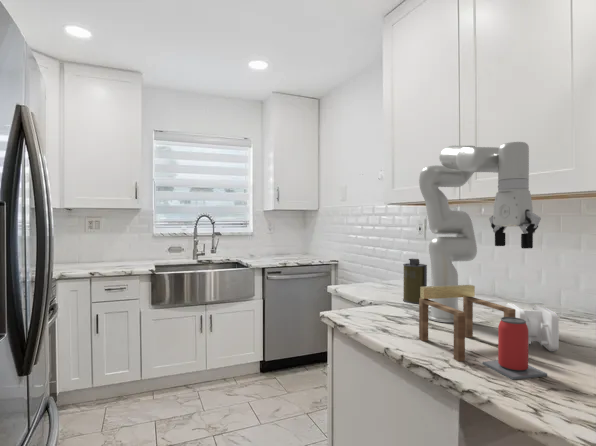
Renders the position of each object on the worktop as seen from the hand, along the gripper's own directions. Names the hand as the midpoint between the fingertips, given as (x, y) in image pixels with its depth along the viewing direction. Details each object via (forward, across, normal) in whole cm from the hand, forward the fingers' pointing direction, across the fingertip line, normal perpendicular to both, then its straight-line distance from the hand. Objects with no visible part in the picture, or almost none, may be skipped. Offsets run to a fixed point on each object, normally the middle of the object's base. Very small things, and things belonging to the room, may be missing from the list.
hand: (512, 247), depth 106 cm
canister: (+31, -70, +10) cm, 77 cm away
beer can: (+30, +10, -9) cm, 33 cm away
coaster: (+30, +10, -9) cm, 33 cm away
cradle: (+30, -8, -10) cm, 33 cm away
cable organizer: (+31, -5, +11) cm, 33 cm away
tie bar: (+17, -16, -10) cm, 25 cm away
